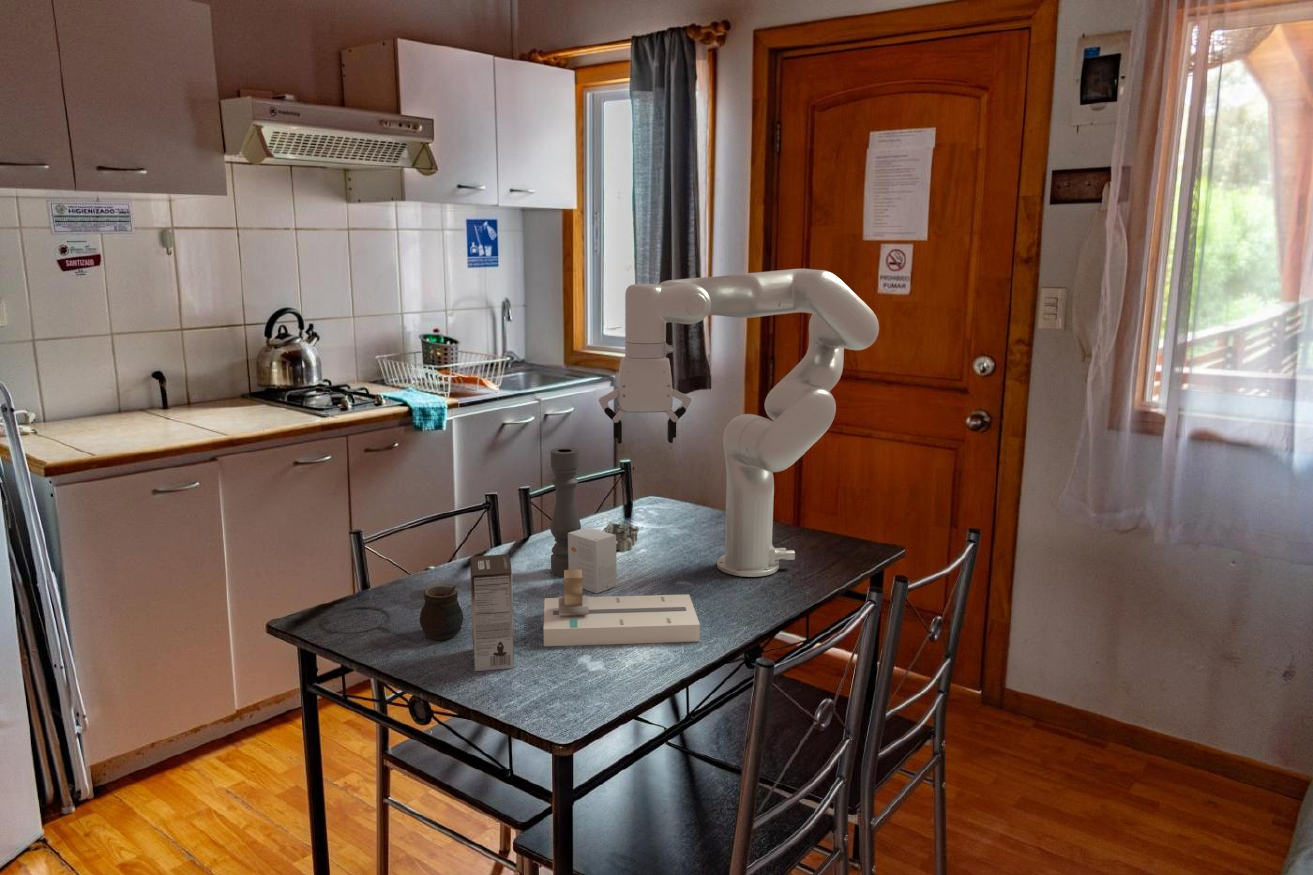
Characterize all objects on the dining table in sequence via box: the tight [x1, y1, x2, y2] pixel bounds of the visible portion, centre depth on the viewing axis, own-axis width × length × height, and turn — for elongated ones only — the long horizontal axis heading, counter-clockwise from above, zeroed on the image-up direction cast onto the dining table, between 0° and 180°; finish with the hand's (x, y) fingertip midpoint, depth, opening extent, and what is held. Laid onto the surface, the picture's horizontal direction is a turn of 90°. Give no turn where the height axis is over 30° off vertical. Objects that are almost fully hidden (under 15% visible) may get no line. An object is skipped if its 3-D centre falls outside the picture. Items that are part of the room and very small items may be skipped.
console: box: [543, 593, 701, 647], centre depth 172 cm, size 26×14×3 cm, turn 96°
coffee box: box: [469, 553, 515, 672], centre depth 158 cm, size 9×6×16 cm
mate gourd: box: [419, 584, 464, 641], centre depth 168 cm, size 7×8×10 cm
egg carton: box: [602, 521, 640, 553], centre depth 218 cm, size 11×8×4 cm
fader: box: [558, 570, 589, 616], centre depth 171 cm, size 5×5×6 cm
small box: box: [568, 527, 618, 594], centre depth 192 cm, size 8×6×10 cm
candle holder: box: [549, 447, 582, 578], centre depth 197 cm, size 6×6×25 cm
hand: (644, 441), depth 188 cm, fingers open, 9 cm apart
